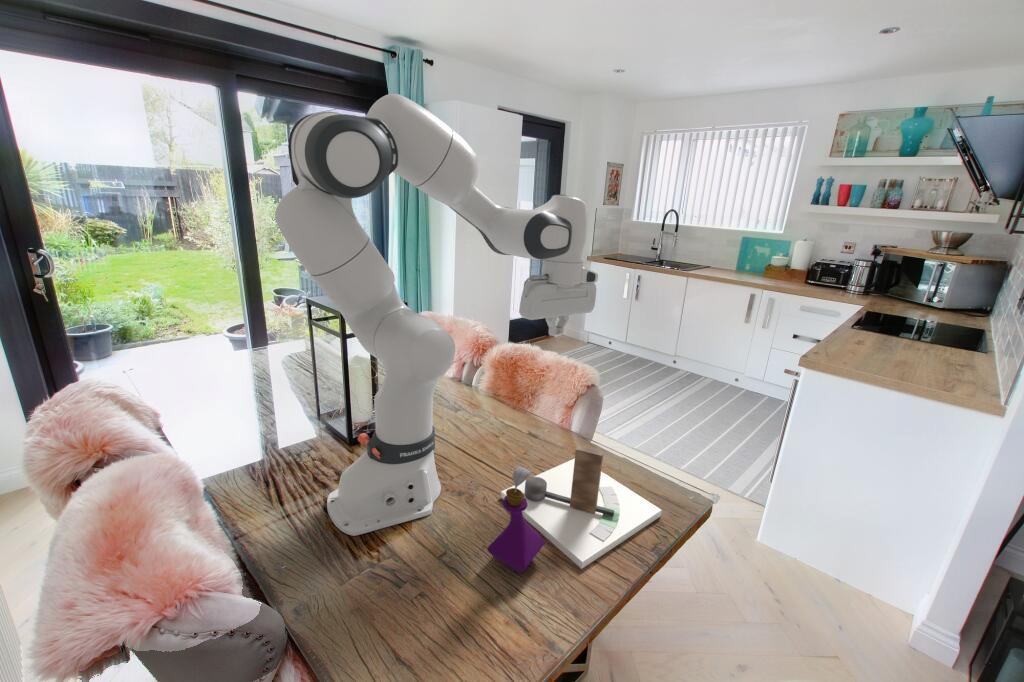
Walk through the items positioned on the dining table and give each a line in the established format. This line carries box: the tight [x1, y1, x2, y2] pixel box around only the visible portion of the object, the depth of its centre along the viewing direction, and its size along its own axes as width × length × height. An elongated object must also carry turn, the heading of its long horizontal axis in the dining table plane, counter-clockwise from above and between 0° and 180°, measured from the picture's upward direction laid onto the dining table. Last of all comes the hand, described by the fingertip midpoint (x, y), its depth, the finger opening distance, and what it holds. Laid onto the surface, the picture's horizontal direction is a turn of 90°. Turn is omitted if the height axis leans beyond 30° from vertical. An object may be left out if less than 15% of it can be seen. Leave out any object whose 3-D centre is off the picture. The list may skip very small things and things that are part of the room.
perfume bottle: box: [486, 466, 547, 574], centre depth 75 cm, size 8×8×18 cm
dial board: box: [500, 457, 663, 570], centre depth 92 cm, size 23×23×2 cm
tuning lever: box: [525, 445, 614, 516], centre depth 88 cm, size 18×4×13 cm, turn 69°
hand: (555, 334), depth 102 cm, fingers closed
